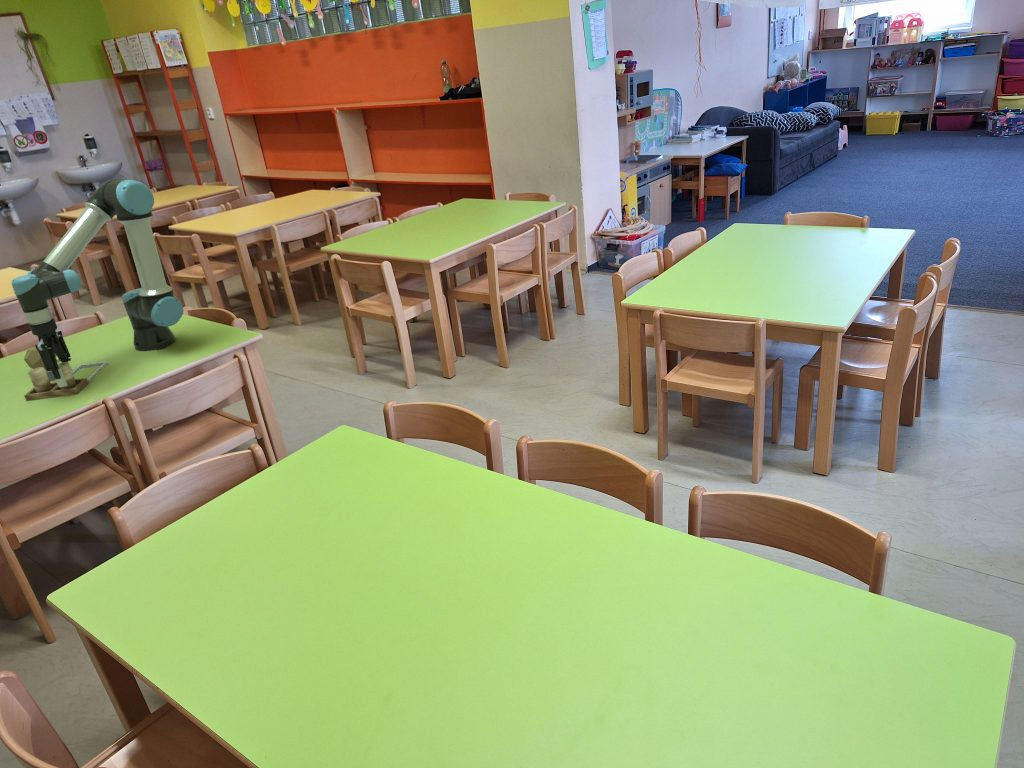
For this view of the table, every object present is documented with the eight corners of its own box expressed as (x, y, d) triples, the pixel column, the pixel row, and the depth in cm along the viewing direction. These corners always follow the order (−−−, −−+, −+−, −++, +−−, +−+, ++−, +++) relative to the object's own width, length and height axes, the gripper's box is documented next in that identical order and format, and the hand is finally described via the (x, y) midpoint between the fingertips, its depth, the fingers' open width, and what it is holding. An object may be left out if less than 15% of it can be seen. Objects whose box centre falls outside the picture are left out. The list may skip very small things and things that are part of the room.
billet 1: (56, 389, 254) (46, 366, 250) (49, 395, 250) (39, 372, 246) (42, 391, 254) (32, 368, 250) (35, 397, 250) (24, 374, 246)
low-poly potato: (43, 377, 270) (67, 354, 274) (17, 358, 265) (41, 335, 269) (42, 376, 282) (65, 355, 286) (17, 358, 277) (40, 336, 281)
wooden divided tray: (89, 385, 257) (86, 377, 256) (78, 396, 249) (75, 388, 248) (40, 391, 256) (37, 384, 255) (27, 403, 248) (24, 395, 247)
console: (73, 373, 269) (68, 362, 267) (64, 381, 263) (59, 370, 261) (54, 376, 269) (49, 365, 267) (45, 384, 263) (40, 373, 261)
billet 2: (80, 385, 255) (70, 362, 251) (73, 391, 250) (63, 368, 246) (65, 387, 254) (56, 364, 250) (59, 393, 250) (49, 370, 246)
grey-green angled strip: (108, 365, 273) (107, 361, 272) (90, 383, 258) (88, 379, 257) (81, 369, 273) (79, 365, 272) (60, 387, 258) (59, 383, 257)
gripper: (43, 313, 249) (68, 373, 259) (15, 332, 233) (43, 395, 243) (64, 310, 249) (89, 370, 259) (38, 329, 233) (65, 392, 243)
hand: (67, 382), depth 251 cm, fingers closed on billet 2, 5 cm apart
